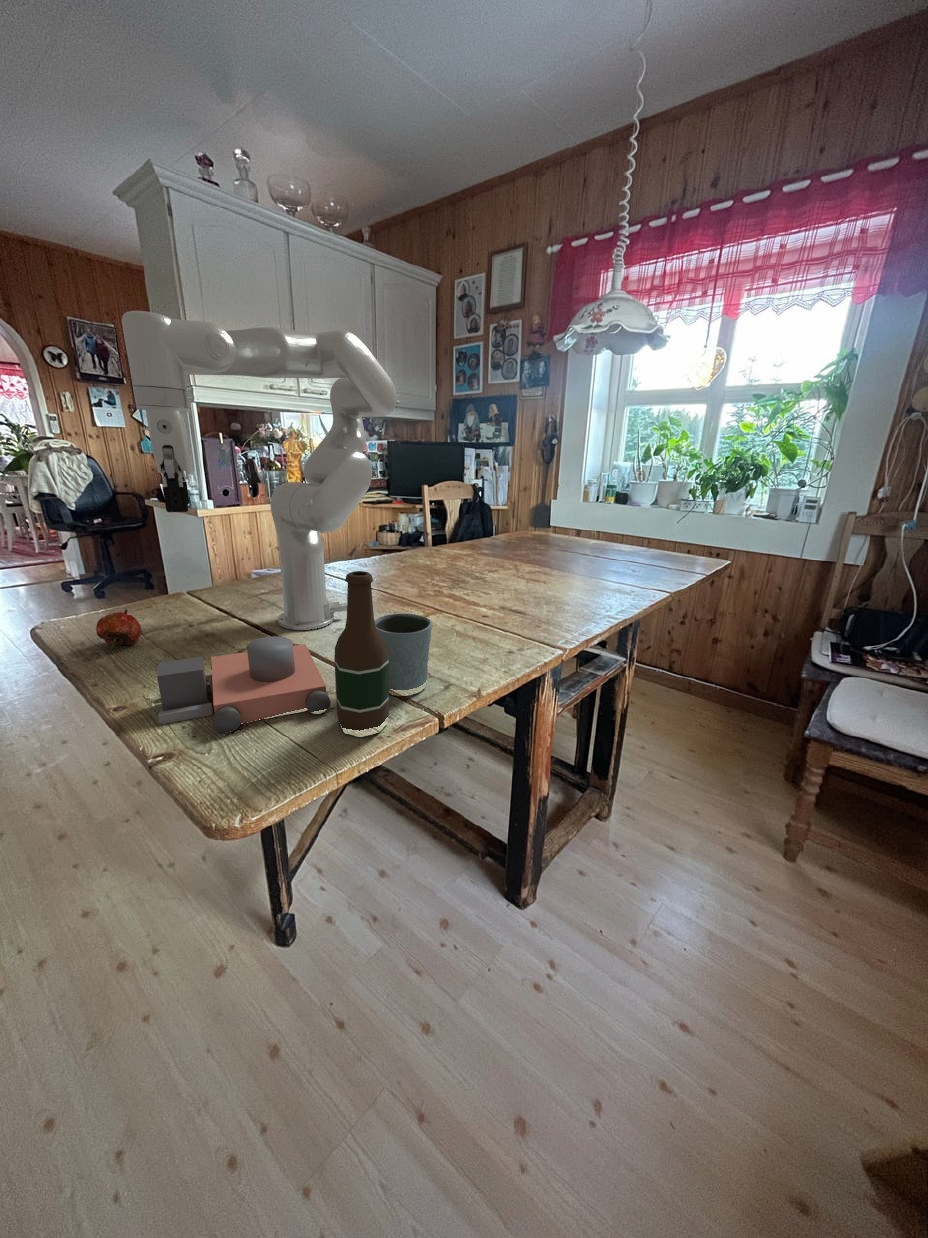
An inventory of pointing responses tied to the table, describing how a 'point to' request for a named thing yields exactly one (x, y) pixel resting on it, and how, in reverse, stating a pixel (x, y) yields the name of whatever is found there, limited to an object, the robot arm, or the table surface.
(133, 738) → the table surface
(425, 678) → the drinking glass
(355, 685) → the beer bottle
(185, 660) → the dark grey rounded cube
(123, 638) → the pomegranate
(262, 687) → the toy tractor cart
